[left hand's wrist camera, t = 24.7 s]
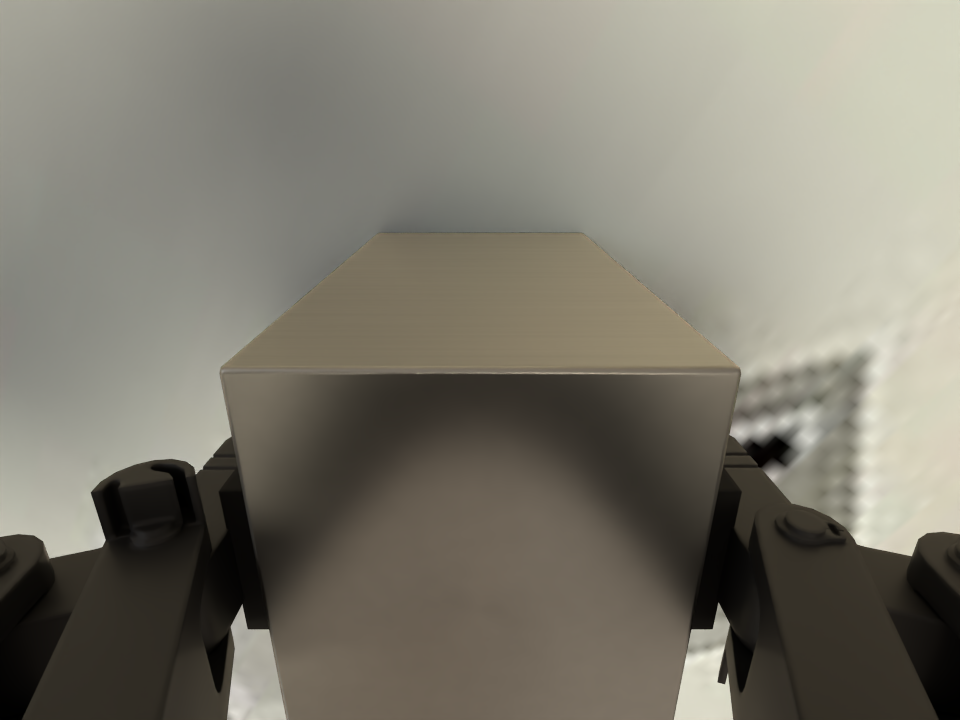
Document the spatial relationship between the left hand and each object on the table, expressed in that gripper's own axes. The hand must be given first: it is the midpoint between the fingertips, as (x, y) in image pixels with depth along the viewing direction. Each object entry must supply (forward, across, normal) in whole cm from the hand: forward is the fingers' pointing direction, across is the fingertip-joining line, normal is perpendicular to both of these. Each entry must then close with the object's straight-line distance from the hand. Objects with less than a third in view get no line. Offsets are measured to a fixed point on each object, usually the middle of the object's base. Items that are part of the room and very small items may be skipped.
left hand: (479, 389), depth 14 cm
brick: (+3, 0, 0) cm, 3 cm away
